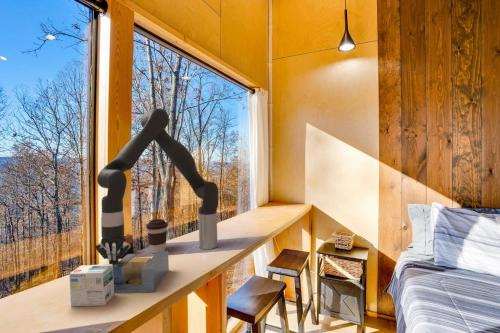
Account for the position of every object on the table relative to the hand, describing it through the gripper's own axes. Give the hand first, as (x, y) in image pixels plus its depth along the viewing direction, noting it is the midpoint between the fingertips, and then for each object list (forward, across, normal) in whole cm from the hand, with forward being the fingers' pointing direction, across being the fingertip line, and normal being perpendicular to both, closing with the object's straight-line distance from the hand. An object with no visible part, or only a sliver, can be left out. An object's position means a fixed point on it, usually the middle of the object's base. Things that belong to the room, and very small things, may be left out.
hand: (113, 269), depth 99 cm
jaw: (+4, -3, 0) cm, 5 cm away
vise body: (+4, -5, 0) cm, 7 cm away
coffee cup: (+5, -6, -31) cm, 32 cm away
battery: (+5, +8, -26) cm, 27 cm away
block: (+4, -10, 0) cm, 11 cm away
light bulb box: (+5, 0, +13) cm, 14 cm away
